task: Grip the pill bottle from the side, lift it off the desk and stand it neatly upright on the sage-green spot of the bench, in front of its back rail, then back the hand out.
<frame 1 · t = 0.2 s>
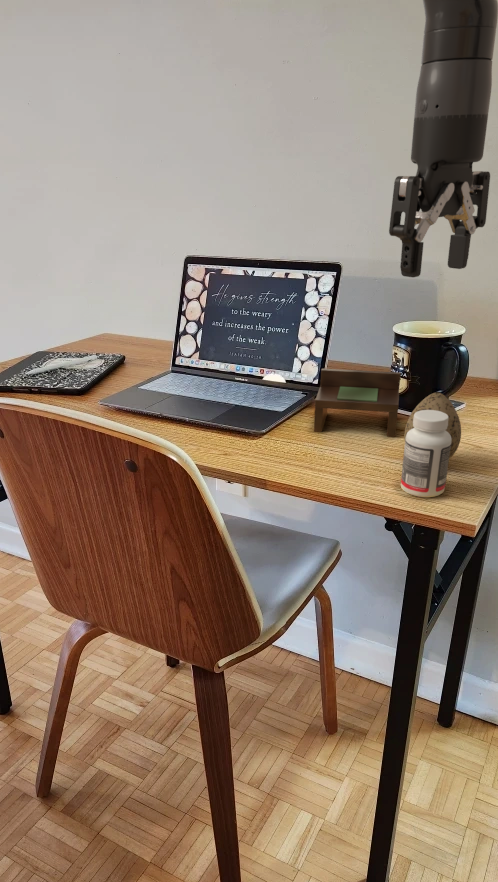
hand: (434, 272, 80), 25 cm above the table, tool pointing down, fingers open, 8 cm apart
bench: (355, 424, 106), on the table
decorative egg: (428, 465, 93), on the table
pill bottle: (421, 490, 86), on the table
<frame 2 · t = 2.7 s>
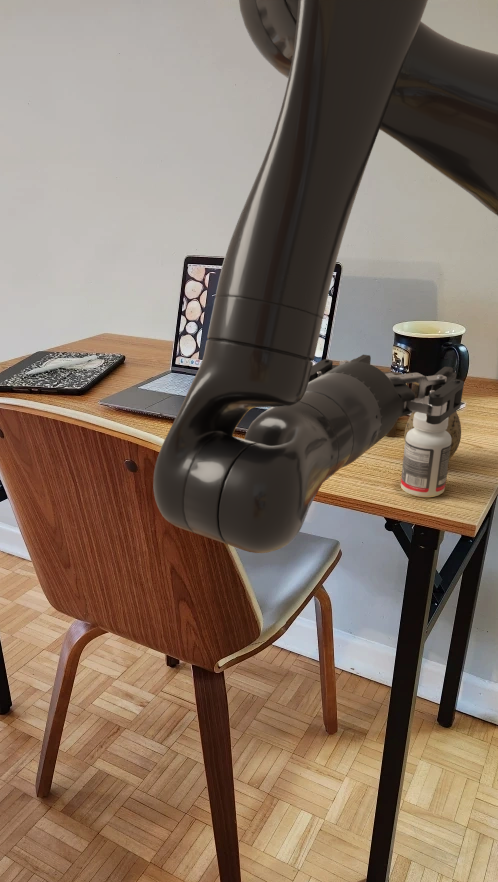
hand: (406, 370, 70), 18 cm above the table, tool horizontal, fingers open, 8 cm apart
nothing on the table moved.
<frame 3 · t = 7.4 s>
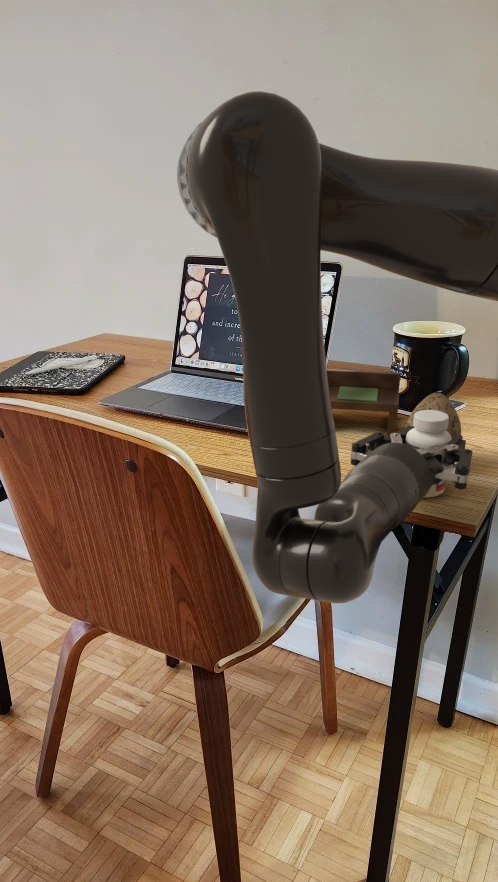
hand: (434, 437, 85), 6 cm above the table, tool horizontal, fingers closed on pill bottle, 5 cm apart
pill bottle: (421, 490, 86), on the table, touching gripper
everything else where it was.
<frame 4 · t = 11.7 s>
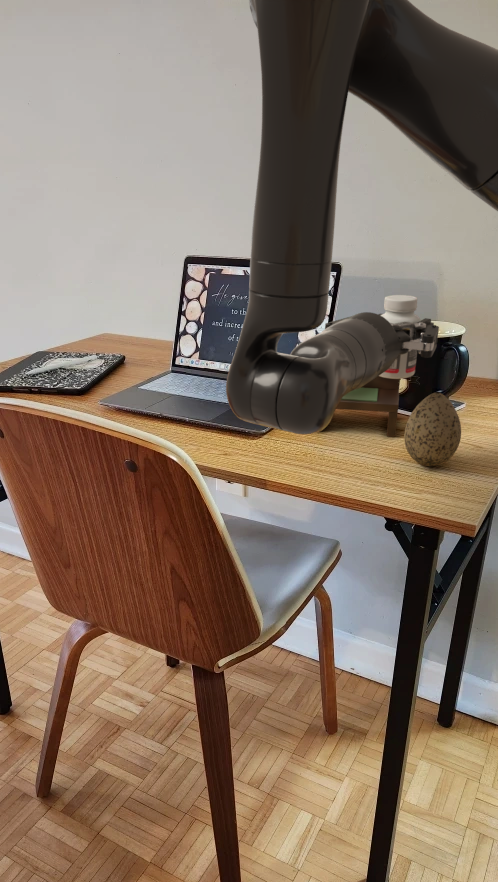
hand: (404, 324, 89), 18 cm above the table, tool horizontal, fingers closed on pill bottle, 5 cm apart
pill bottle: (393, 375, 90), point 11 cm above the table, touching gripper
everything else where it was.
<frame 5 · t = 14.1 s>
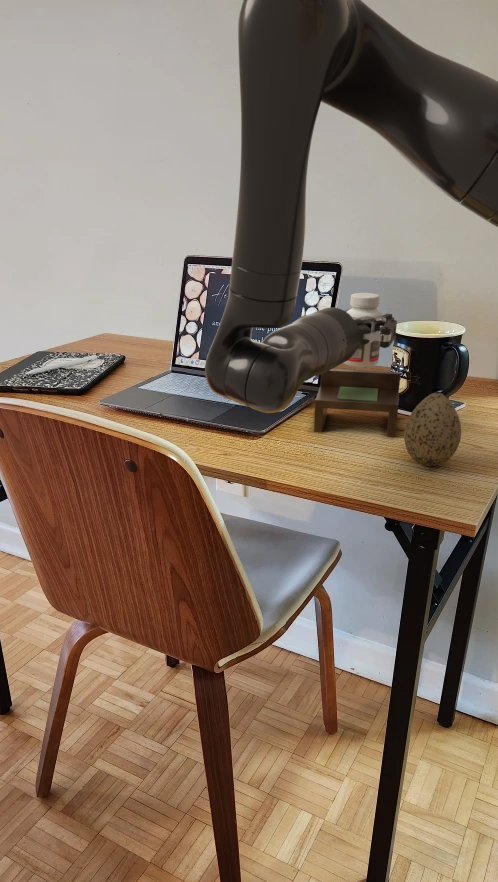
hand: (369, 318, 101), 16 cm above the table, tool horizontal, fingers closed on pill bottle, 5 cm apart
pill bottle: (359, 364, 101), point 10 cm above the table, touching gripper
everything else where it was.
when the fingers open (11 cm above the table, at t = 15.9 s): pill bottle stays where it is, resting on bench.
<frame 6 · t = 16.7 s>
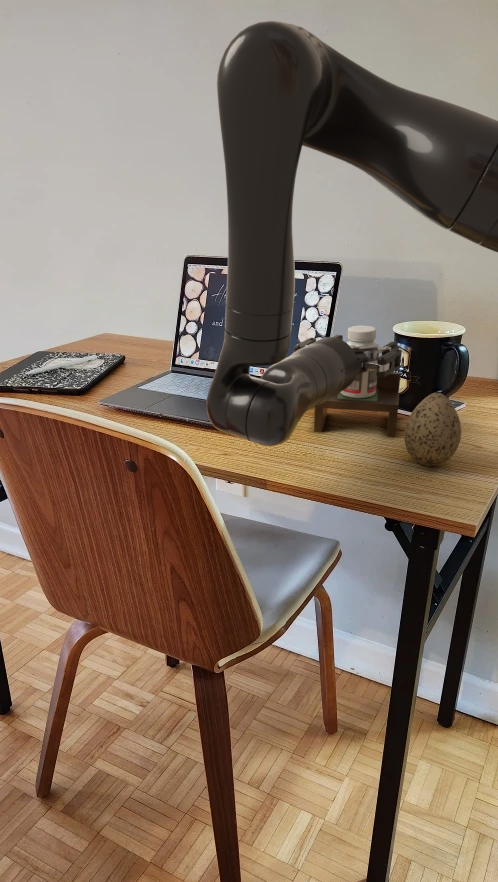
hand: (366, 344, 102), 12 cm above the table, tool horizontal, fingers open, 8 cm apart
pill bottle: (357, 394, 104), point 5 cm above the table, touching bench
everything else where it was.
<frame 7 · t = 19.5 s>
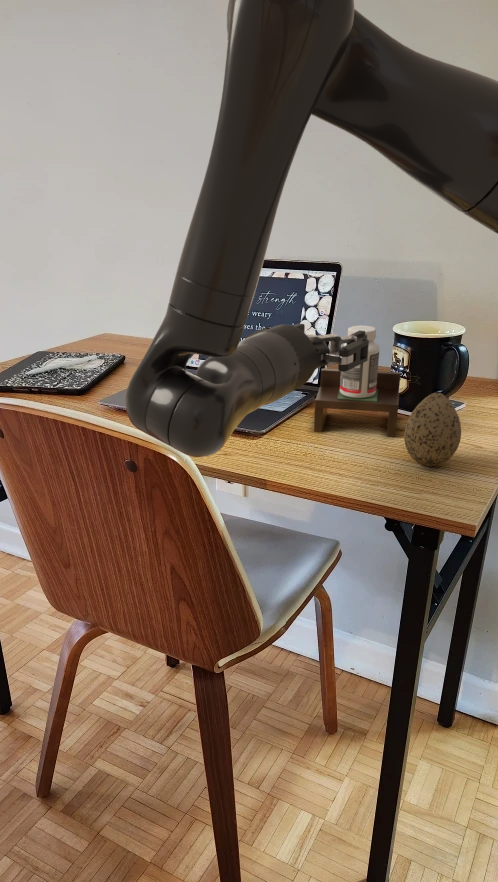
hand: (331, 334, 89), 17 cm above the table, tool horizontal, fingers open, 8 cm apart
nothing on the table moved.
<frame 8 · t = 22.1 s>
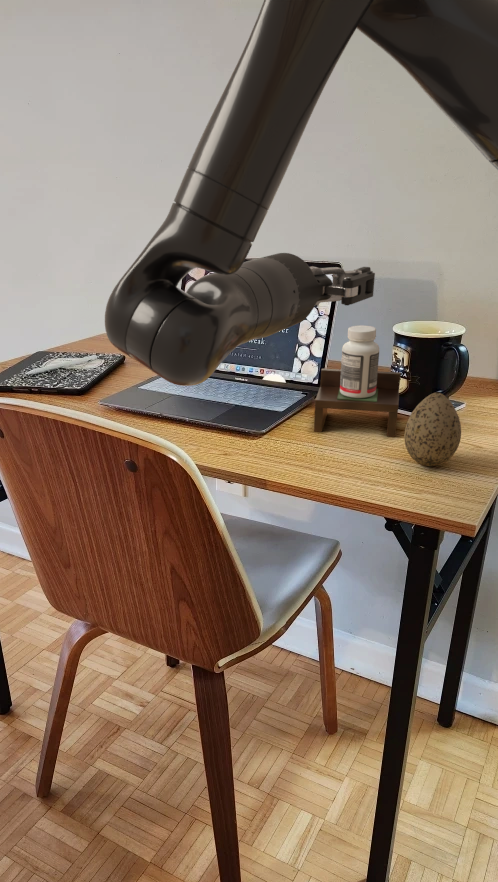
hand: (333, 273, 82), 25 cm above the table, tool horizontal, fingers open, 8 cm apart
nothing on the table moved.
at the end: pill bottle 0.4 cm off-centre on the bench, point 5.0 cm above the bench's base; pill bottle tilted 0°; the gripper is holding nothing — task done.
